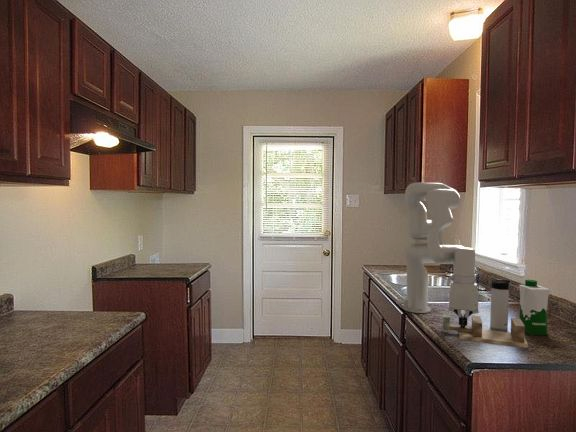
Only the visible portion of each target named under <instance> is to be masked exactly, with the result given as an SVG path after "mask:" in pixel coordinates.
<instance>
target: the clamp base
mask: <svg viewBox="0 0 576 432" xmlns="http://www.w3.org/2000/svg"><path fill="white" fill-rule="evenodd" d="M458 332H459V339H460V340H467V341H473V342H479V343H480V342H481V343H488V344H494V345H495V344H496V345H504V346H510V347H511V346H512V347H518V348H525V349H526V348H527V349H528V348H529V344H528V341H527V339H526V338H525V334H526V332H525V326H524V324H523V323H522V321H521V319H519V318H515V317H511V318H510V332H508V331H505V332H501V331H495V330H492V329H484V328H482V337H479V336H473V334H472V333H471V332H463V331H458Z"/></svg>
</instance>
